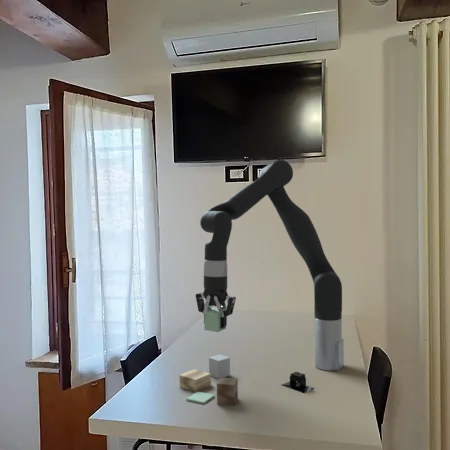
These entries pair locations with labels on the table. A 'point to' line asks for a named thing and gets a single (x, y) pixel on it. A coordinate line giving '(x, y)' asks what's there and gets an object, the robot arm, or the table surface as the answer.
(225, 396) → the walnut block
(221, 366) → the grey block
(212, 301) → the robot arm
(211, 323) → the green block
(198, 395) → the tile
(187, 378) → the maple base
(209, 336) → the table surface
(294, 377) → the black piece
